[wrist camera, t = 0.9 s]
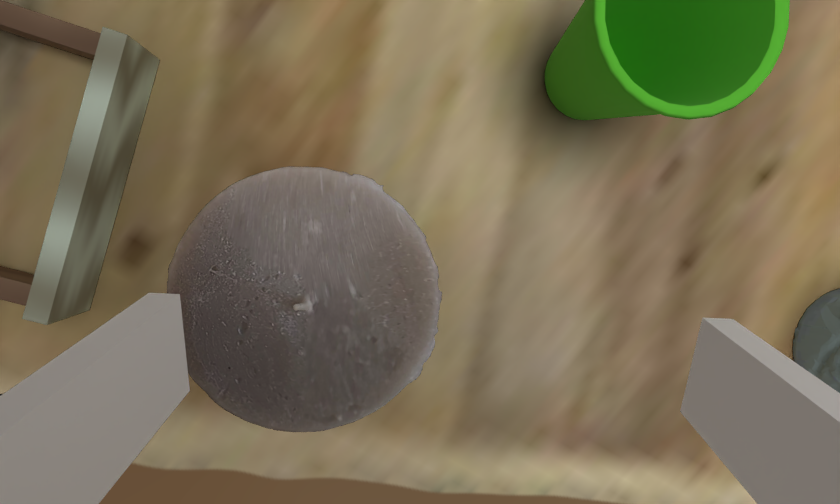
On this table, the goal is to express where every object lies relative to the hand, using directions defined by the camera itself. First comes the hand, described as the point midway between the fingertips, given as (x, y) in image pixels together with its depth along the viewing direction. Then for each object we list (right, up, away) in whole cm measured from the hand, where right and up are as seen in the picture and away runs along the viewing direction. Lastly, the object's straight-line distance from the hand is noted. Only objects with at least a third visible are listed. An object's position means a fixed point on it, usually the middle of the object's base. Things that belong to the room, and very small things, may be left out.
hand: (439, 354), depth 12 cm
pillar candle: (-6, +2, +18) cm, 20 cm away
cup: (+10, +14, +19) cm, 26 cm away
